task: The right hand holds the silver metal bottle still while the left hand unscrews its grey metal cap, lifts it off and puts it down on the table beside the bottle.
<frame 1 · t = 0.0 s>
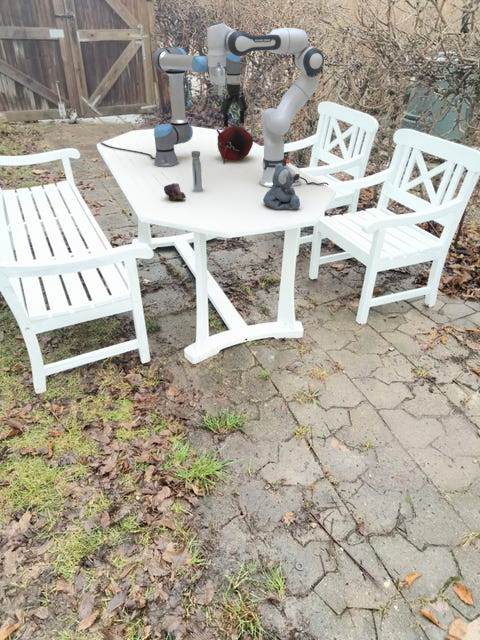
left hand: (234, 125, 259), 28 cm above the table, tool pointing down, fingers open, 13 cm apart
right hand: (218, 94, 225), 48 cm above the table, tool pointing down, fingers open, 8 cm apart
rock: (174, 199, 239), on the table
bottle: (198, 190, 250), on the table
koala plush: (280, 205, 230), on the table
cap: (195, 152, 238), point 20 cm above the table, screwed on, not yet turned
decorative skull: (234, 158, 303), on the table
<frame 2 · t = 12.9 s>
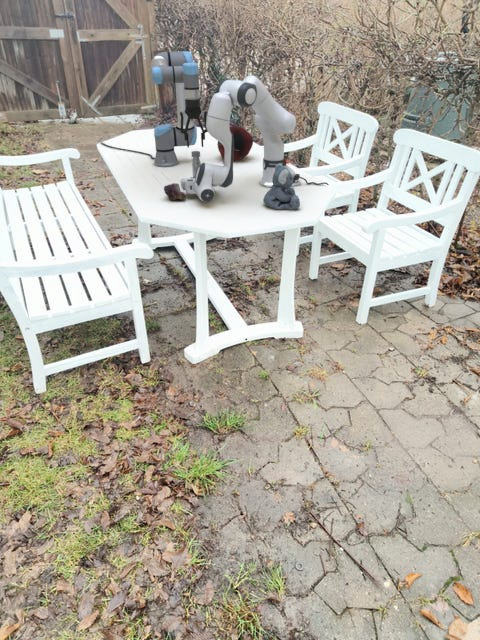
left hand: (195, 146, 237), 24 cm above the table, tool pointing down, fingers open, 7 cm apart
right hand: (196, 178, 247), 7 cm above the table, tool horizontal, fingers closed on bottle, 5 cm apart
bottle: (198, 190, 250), on the table, touching right hand
everything else where it was.
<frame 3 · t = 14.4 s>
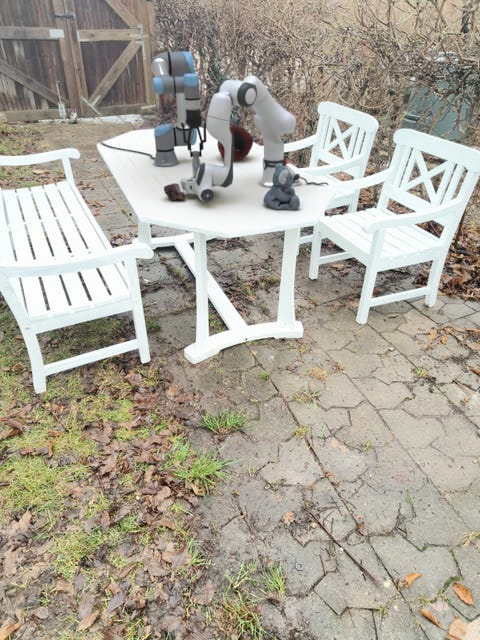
left hand: (195, 156, 239), 19 cm above the table, tool pointing down, fingers closed on cap, 4 cm apart
right hand: (196, 178, 247), 7 cm above the table, tool horizontal, fingers closed on bottle, 5 cm apart
bottle: (198, 190, 250), on the table, touching right hand
cap: (195, 152, 238), point 20 cm above the table, screwed on, not yet turned, touching left hand
everything else where it was.
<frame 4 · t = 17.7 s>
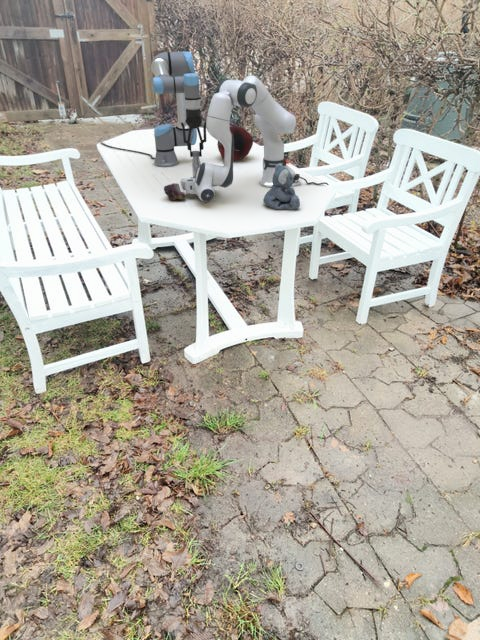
left hand: (195, 156, 239), 19 cm above the table, tool pointing down, fingers closed on cap, 4 cm apart
right hand: (196, 178, 247), 7 cm above the table, tool horizontal, fingers closed on bottle, 5 cm apart
bottle: (198, 190, 250), on the table, touching right hand
cap: (195, 152, 238), point 21 cm above the table, turned 93° so far, risen 0.1 cm, still on its thread, touching left hand
everything else where it was.
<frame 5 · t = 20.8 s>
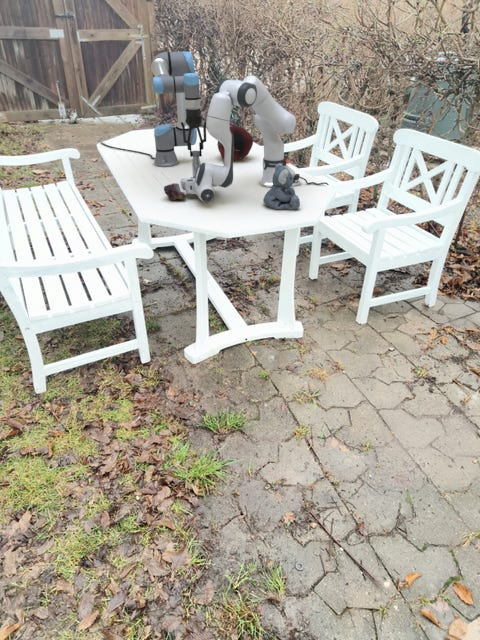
left hand: (195, 155, 239), 19 cm above the table, tool pointing down, fingers closed on cap, 4 cm apart
right hand: (196, 178, 247), 7 cm above the table, tool horizontal, fingers closed on bottle, 5 cm apart
bottle: (198, 190, 250), on the table, touching right hand
cap: (195, 152, 238), point 21 cm above the table, turned 186° so far, risen 0.2 cm, still on its thread, touching left hand
everything else where it was.
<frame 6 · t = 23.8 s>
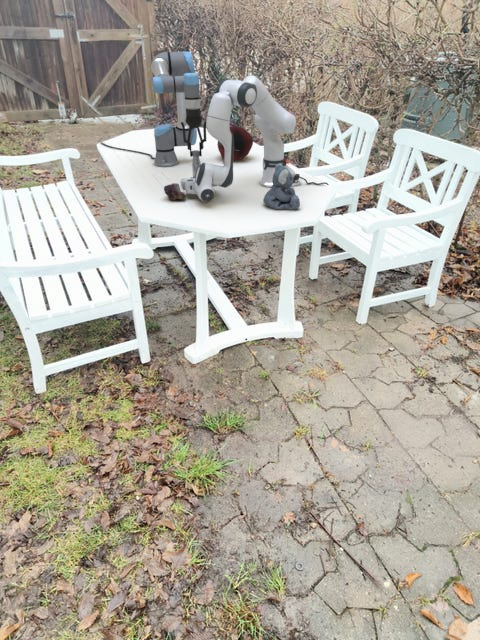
left hand: (195, 155, 239), 19 cm above the table, tool pointing down, fingers closed on cap, 4 cm apart
right hand: (196, 178, 247), 7 cm above the table, tool horizontal, fingers closed on bottle, 5 cm apart
bottle: (198, 190, 250), on the table, touching right hand
cap: (195, 152, 238), point 21 cm above the table, turned 279° so far, risen 0.3 cm, still on its thread, touching left hand
everything else where it was.
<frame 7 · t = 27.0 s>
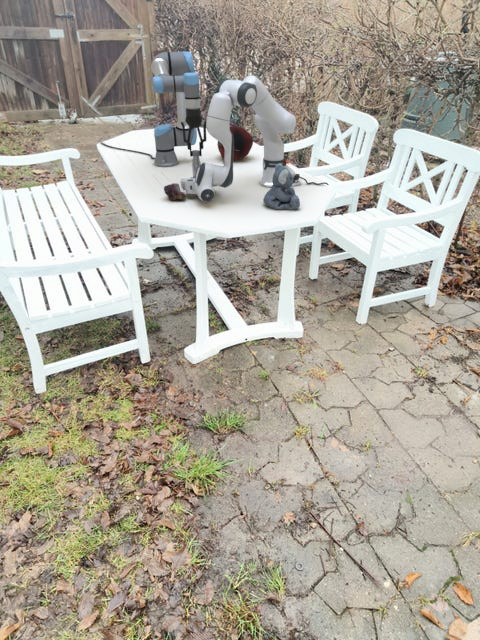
left hand: (195, 155, 239), 19 cm above the table, tool pointing down, fingers closed on cap, 4 cm apart
right hand: (196, 178, 247), 7 cm above the table, tool horizontal, fingers closed on bottle, 5 cm apart
bottle: (198, 190, 250), on the table, touching right hand
cap: (195, 151, 238), point 21 cm above the table, turned 372° so far, risen 0.4 cm, still on its thread, touching left hand
everything else where it was.
when the left hand's fingers open (1 cm above the table, at t = 32.8 s): cap drops 1 cm, point 2 cm above the table.
when the right hand's fingers open (7 cm above the table, at t = 34.0 s): bottle stays where it is, on the table.
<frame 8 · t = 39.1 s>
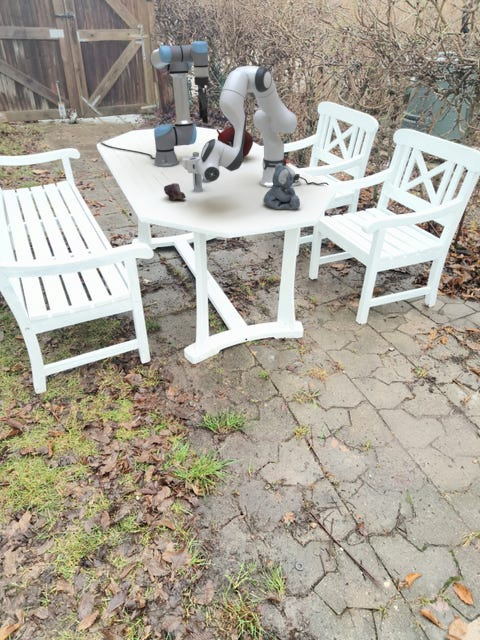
left hand: (203, 120, 245), 33 cm above the table, tool pointing down, fingers open, 13 cm apart
right hand: (200, 157, 228), 21 cm above the table, tool horizontal, fingers open, 8 cm apart
bottle: (198, 190, 250), on the table
cap: (206, 177, 263), point 2 cm above the table, off its thread
everything else where it was.
at the end: cap came off its thread; cap point 1.9 cm above the table; the left hand is holding nothing; the right hand is holding nothing; bottle tilted 0°; bottle moved 0.1 cm from its start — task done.
